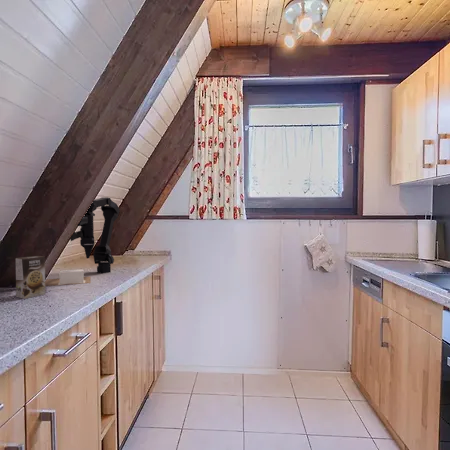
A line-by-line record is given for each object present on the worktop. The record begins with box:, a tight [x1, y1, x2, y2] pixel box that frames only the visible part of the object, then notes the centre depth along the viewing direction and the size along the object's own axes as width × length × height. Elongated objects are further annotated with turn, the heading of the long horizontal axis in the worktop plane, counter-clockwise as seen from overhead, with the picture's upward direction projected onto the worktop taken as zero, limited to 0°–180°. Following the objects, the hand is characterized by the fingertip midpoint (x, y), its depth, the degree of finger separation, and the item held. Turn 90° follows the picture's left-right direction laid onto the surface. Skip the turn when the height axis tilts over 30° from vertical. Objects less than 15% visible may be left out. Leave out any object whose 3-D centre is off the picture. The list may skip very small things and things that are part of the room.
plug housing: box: [59, 268, 85, 285], centre depth 164 cm, size 10×5×5 cm, turn 111°
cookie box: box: [15, 255, 46, 300], centre depth 146 cm, size 9×6×16 cm
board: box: [45, 276, 92, 287], centre depth 168 cm, size 20×16×2 cm
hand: (87, 257), depth 174 cm, fingers open, 9 cm apart
